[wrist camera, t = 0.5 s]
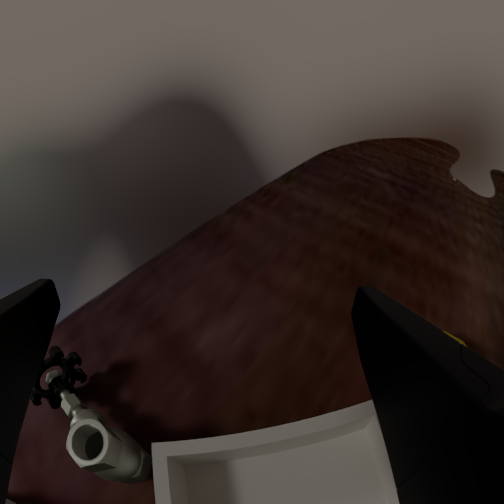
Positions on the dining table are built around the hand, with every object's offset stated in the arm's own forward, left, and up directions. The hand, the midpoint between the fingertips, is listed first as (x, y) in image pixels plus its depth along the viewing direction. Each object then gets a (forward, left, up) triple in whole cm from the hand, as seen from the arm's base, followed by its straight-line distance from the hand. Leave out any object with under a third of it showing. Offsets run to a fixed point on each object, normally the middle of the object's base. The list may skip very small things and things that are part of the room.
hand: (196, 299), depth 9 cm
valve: (+2, +13, -18) cm, 22 cm away
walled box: (-8, -1, -17) cm, 19 cm away
